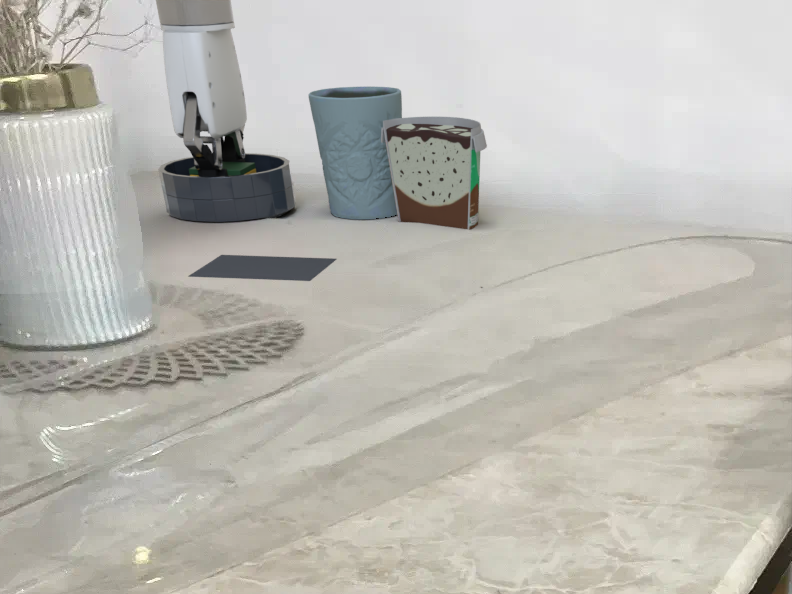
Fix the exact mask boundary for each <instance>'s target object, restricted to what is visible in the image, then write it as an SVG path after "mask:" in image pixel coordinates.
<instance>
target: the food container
mask: <svg viewBox="0 0 792 594" xmlns="http://www.w3.org/2000/svg"><path fill="white" fill-rule="evenodd" d="M485 135H486V134H485V132H484V129H483V128H482V126H481V122H480V121H478V120H476V119H470V118H465V117H455V116H409V117H402V118H398V119H391V120H385V121H383V128H381V143H383V142H386V147H387V154H388V160H389V166H390V172H391V178H392V184H393V190H394V197H395V203H396V209H397V215H396V216H397V221H398V223H414V224H415V223H416V224H424V225H425V224H426V225H432V226H438V227H439V226H440V227H447V228H455V229H461V230H468V231H471V230H472V229H475V228H476V227H477V226H478V225H479V207H480V206H479V205H480V204H479V203H480V177H481V175H480V174H481V152H482V151H484V150H486V149H487V147H488V144H487V140H486V136H485Z"/></svg>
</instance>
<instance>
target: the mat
mask: <svg viewBox="0 0 792 594" xmlns="http://www.w3.org/2000/svg"><path fill="white" fill-rule="evenodd" d="M337 260H338V258H331V257H330V258H327V257H299V256H274V255H273V256H272V255H270V256H269V255H244V254H243V255H240V254H238V255H237V254H220V255H219V256H217V257H216V258H214V259H212V260H211V261H209V262H208V263H206V264H205V265H202V266H201V267H200V268H199V269H197V270H195V271H193V272H192V273H191V274H189V275H188V276H187V277H189V278H212V279H213V278H217V279H218V278H219V279H242V280H269V281H299V282H311V281H312V280H313V279H314V278H316V277H318V276H319V275H320V274H321V273H322V272H323V271H325V270H326V269H327V268H328V267H329V266H331V265H332V264H333V263H335V262H336V261H337Z"/></svg>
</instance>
